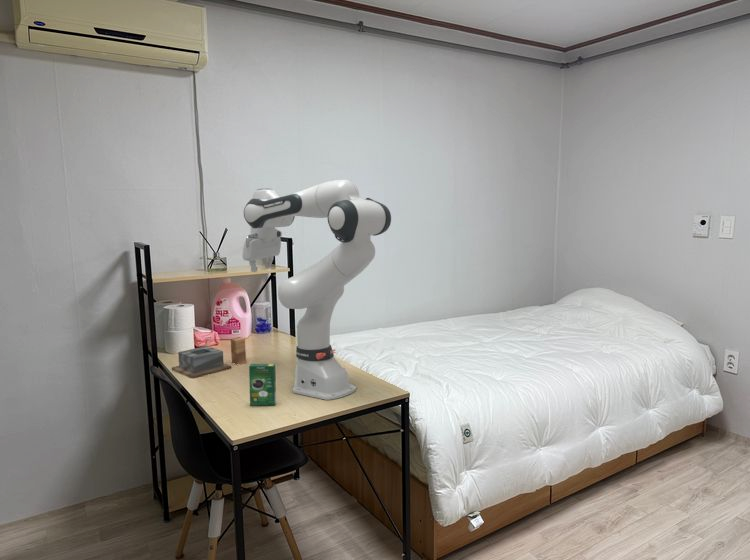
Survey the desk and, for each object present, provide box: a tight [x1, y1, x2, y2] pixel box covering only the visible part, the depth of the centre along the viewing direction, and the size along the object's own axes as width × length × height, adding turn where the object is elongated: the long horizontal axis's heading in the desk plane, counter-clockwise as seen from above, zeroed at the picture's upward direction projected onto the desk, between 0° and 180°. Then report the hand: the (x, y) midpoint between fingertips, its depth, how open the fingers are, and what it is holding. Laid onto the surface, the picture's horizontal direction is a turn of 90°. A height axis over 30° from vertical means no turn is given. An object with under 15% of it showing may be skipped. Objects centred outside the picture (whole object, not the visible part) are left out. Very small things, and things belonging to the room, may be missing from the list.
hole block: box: [171, 345, 232, 379], centre depth 200 cm, size 16×16×7 cm
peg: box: [230, 336, 247, 365], centre depth 207 cm, size 4×4×10 cm
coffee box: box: [248, 363, 277, 407], centre depth 162 cm, size 8×3×13 cm, turn 91°
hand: (261, 269), depth 194 cm, fingers open, 8 cm apart
